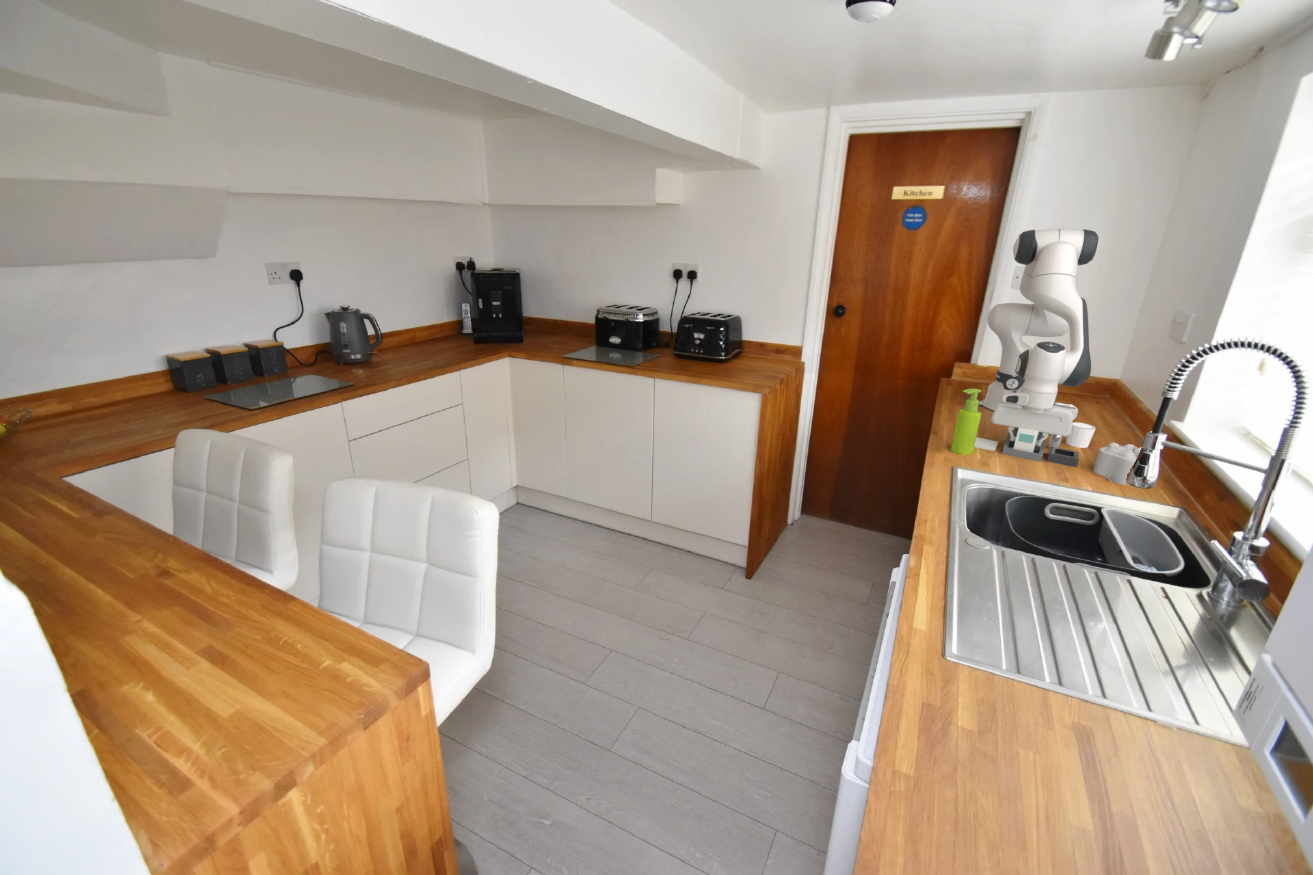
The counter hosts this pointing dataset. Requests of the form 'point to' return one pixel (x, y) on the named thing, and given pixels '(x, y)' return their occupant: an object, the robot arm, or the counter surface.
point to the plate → (985, 444)
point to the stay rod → (1055, 441)
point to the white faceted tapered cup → (1080, 435)
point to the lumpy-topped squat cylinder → (1116, 461)
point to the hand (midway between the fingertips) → (1025, 443)
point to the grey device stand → (1009, 450)
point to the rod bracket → (1063, 456)
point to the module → (1026, 439)
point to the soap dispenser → (967, 425)
